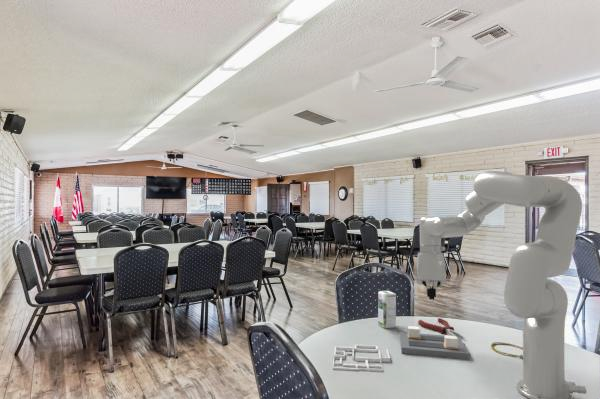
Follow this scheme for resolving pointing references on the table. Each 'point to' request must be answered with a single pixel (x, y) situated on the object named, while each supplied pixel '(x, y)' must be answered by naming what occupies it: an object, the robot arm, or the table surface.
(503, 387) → the table surface
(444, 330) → the pliers
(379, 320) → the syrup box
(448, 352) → the switch panel
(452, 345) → the tab
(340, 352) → the floor plan model
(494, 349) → the extension cord
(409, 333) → the tab
